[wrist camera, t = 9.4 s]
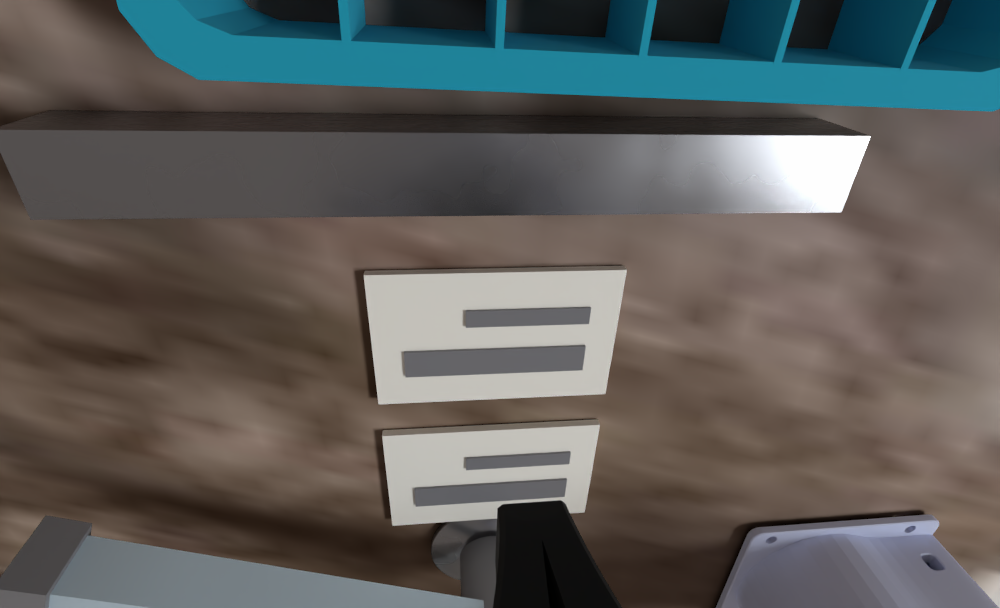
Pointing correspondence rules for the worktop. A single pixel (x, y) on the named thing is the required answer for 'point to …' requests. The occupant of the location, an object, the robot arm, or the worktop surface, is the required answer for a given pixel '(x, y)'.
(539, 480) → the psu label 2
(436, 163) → the rail
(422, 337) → the psu label
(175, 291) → the worktop surface
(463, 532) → the pivot base
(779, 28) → the ice cube tray
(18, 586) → the bar
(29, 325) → the worktop surface
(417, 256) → the worktop surface
